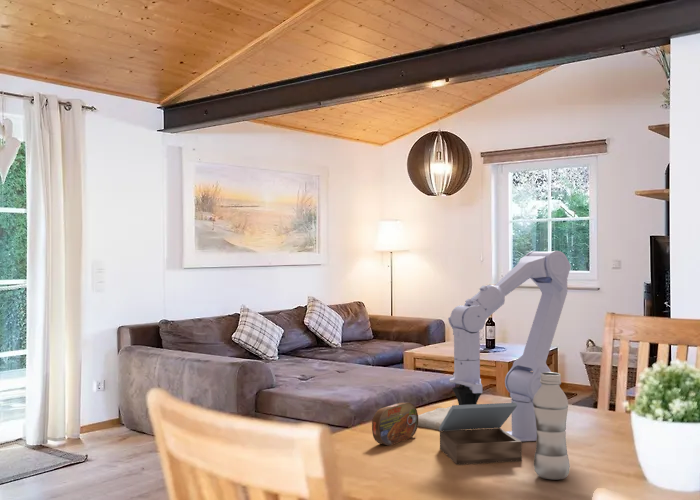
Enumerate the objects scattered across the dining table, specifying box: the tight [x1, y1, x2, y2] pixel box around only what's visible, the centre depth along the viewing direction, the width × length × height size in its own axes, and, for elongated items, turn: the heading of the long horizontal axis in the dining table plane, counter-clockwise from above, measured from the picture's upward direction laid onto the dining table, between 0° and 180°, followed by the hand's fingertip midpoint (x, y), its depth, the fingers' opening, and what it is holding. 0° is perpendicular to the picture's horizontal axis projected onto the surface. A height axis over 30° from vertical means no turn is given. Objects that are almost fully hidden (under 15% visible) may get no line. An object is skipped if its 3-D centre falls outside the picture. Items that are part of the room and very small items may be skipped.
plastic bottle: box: [533, 371, 571, 481], centre depth 140 cm, size 6×7×20 cm
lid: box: [439, 402, 517, 432], centre depth 157 cm, size 14×12×1 cm
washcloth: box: [418, 406, 452, 431], centre depth 186 cm, size 12×18×3 cm, turn 140°
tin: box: [371, 402, 419, 446], centre depth 168 cm, size 15×3×8 cm, turn 139°
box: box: [439, 427, 523, 466], centre depth 156 cm, size 14×12×4 cm
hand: (467, 419), depth 164 cm, fingers closed
